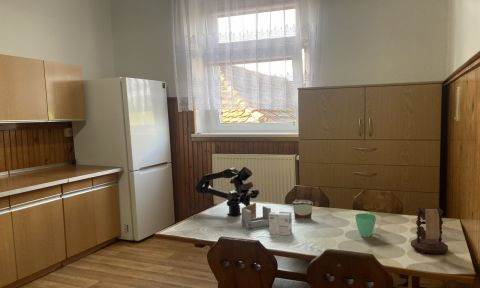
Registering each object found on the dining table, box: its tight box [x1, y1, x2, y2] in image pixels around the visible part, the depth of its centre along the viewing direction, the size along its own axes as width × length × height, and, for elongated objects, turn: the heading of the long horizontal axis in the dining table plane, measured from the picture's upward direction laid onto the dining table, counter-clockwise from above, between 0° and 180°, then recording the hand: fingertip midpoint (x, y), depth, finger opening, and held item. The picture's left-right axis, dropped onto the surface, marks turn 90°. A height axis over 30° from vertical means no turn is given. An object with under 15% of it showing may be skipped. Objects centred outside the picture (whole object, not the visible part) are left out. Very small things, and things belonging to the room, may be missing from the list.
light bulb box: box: [268, 210, 293, 236], centre depth 194 cm, size 11×7×11 cm, turn 71°
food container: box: [291, 199, 315, 220], centre depth 220 cm, size 12×6×10 cm, turn 84°
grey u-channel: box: [241, 205, 272, 231], centre depth 205 cm, size 6×16×10 cm, turn 118°
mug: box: [355, 212, 377, 238], centre depth 189 cm, size 15×10×10 cm
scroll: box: [410, 205, 449, 254], centre depth 166 cm, size 15×15×20 cm
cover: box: [241, 202, 257, 221], centre depth 211 cm, size 1×14×10 cm, turn 148°
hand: (249, 207), depth 217 cm, fingers closed
